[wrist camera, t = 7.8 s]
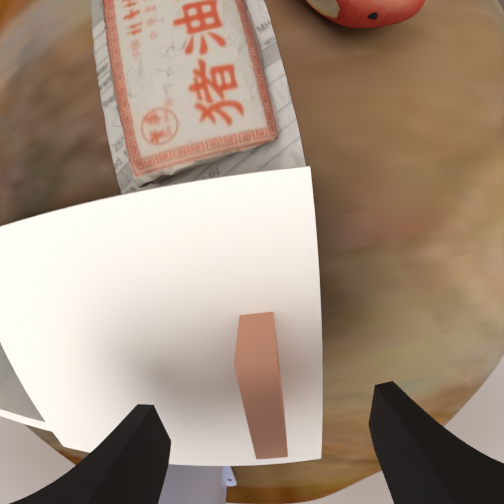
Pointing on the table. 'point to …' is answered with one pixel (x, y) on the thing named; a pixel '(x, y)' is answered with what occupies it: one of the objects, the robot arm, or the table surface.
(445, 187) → the table surface
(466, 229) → the table surface
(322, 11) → the apple
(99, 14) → the packaged product
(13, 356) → the carton lid
